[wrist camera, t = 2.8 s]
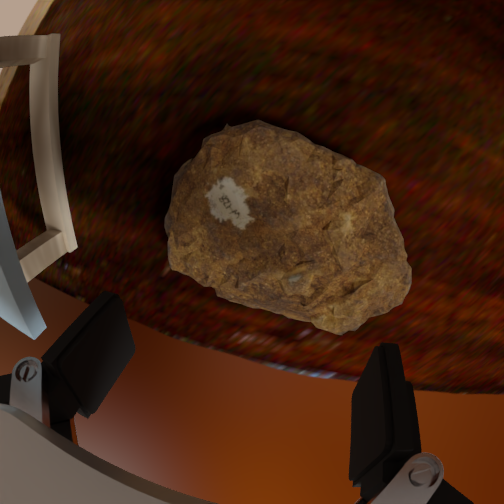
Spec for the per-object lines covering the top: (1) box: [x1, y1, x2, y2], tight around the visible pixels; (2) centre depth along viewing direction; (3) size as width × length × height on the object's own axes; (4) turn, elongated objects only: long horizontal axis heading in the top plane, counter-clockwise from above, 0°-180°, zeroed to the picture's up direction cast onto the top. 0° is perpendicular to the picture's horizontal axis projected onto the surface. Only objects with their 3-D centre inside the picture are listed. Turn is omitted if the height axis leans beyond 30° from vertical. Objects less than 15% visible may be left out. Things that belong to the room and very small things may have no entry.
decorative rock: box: [164, 120, 411, 335], centre depth 16 cm, size 11×4×15 cm
